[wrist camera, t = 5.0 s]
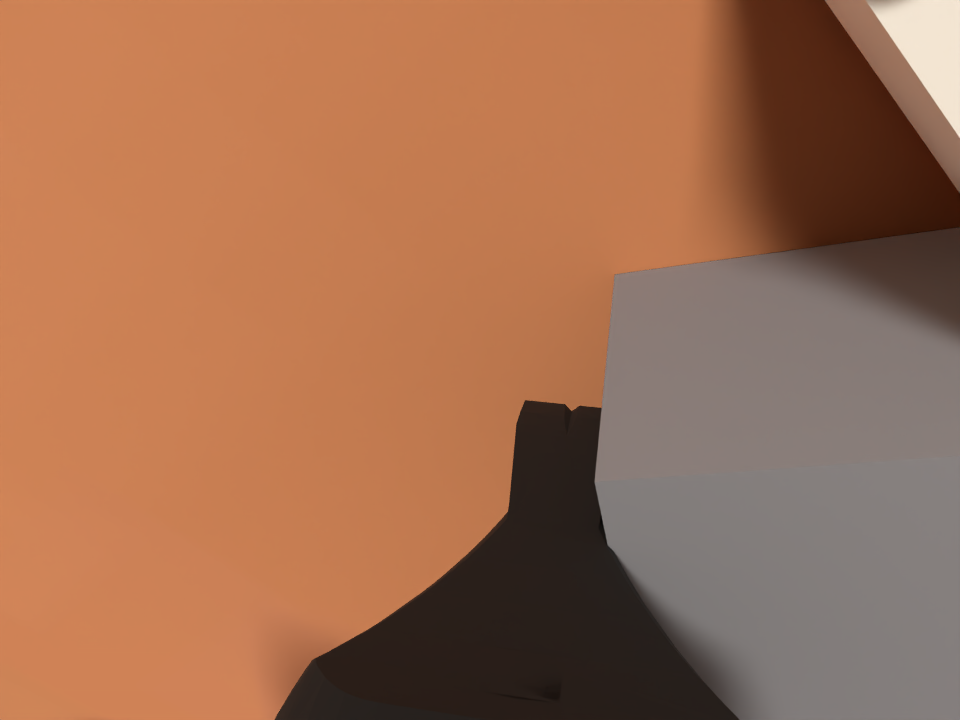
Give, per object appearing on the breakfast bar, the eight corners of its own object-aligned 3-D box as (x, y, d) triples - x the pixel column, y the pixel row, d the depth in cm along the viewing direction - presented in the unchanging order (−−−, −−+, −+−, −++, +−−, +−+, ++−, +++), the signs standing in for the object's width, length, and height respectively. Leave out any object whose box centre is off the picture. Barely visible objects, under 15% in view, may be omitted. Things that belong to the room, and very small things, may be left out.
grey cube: (966, 507, 14) (1103, 796, 10) (657, 525, 15) (658, 785, 11) (982, 224, 11) (1173, 440, 7) (614, 274, 13) (593, 481, 9)
